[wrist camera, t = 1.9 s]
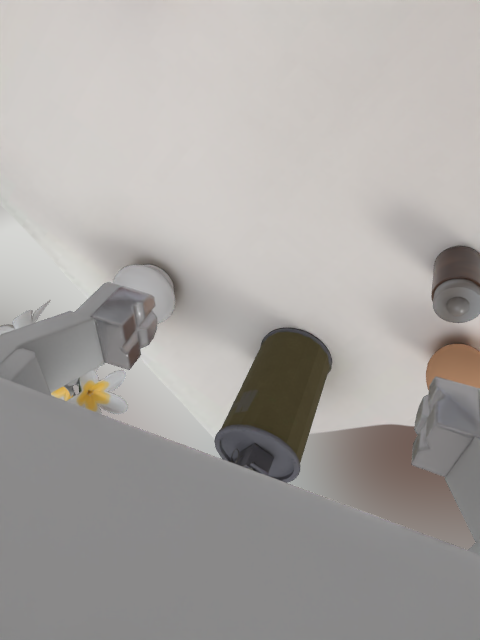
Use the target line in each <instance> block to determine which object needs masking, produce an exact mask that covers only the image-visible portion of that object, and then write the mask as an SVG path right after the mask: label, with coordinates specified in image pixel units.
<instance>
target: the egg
mask: <svg viewBox="0 0 480 640" xmlns="http://www.w3.org/2000/svg"><path fill="white" fill-rule="evenodd" d="M435 376H437V377H440V378H444V379H447V380H451V381H455V382H458V383H462V384H465V385H469V386H473V387H475V388H480V352H479V351H478V350H476V349H475V348H473V347H471V346H468V345H465V344H450V345H446V346H444V347H442V348H441V349H439V350H438V351H437V352H435V353H434V355H433V356H432V357H431V359H430V361H429V363H428V366H427V371H426V382H427V387H428V390H429V386H430V384H431V382H432V380H433V379H434V378H435Z"/></svg>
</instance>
